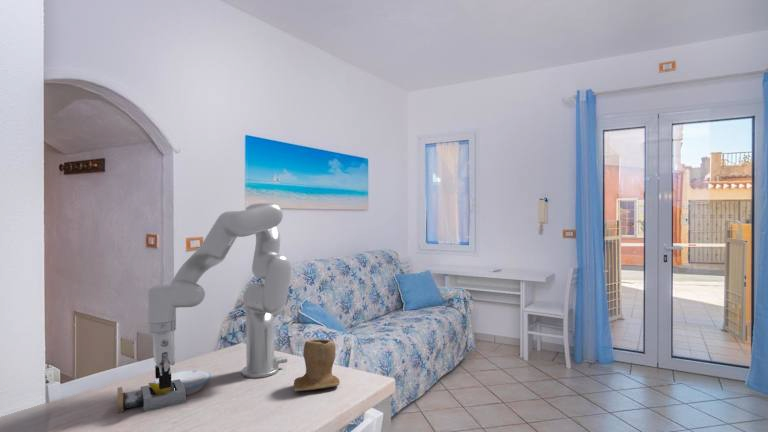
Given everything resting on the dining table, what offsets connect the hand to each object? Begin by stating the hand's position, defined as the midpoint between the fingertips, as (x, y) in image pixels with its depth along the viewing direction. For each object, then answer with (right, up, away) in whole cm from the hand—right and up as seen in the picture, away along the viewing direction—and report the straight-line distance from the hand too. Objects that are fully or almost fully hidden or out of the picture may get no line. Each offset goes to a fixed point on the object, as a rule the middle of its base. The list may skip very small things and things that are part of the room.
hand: (163, 382), depth 132 cm
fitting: (-3, -5, -2) cm, 6 cm away
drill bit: (0, -6, -1) cm, 6 cm away
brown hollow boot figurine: (+45, -5, +10) cm, 46 cm away
